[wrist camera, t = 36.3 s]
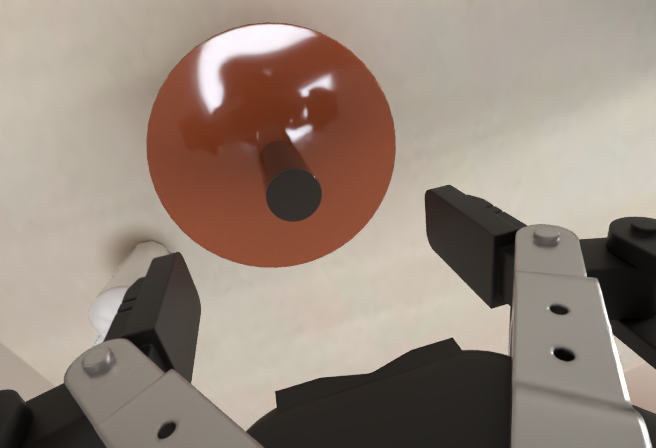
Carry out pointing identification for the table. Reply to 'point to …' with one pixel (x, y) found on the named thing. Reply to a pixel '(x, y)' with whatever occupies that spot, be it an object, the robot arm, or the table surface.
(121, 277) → the milkshake
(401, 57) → the table surface
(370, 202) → the lid
